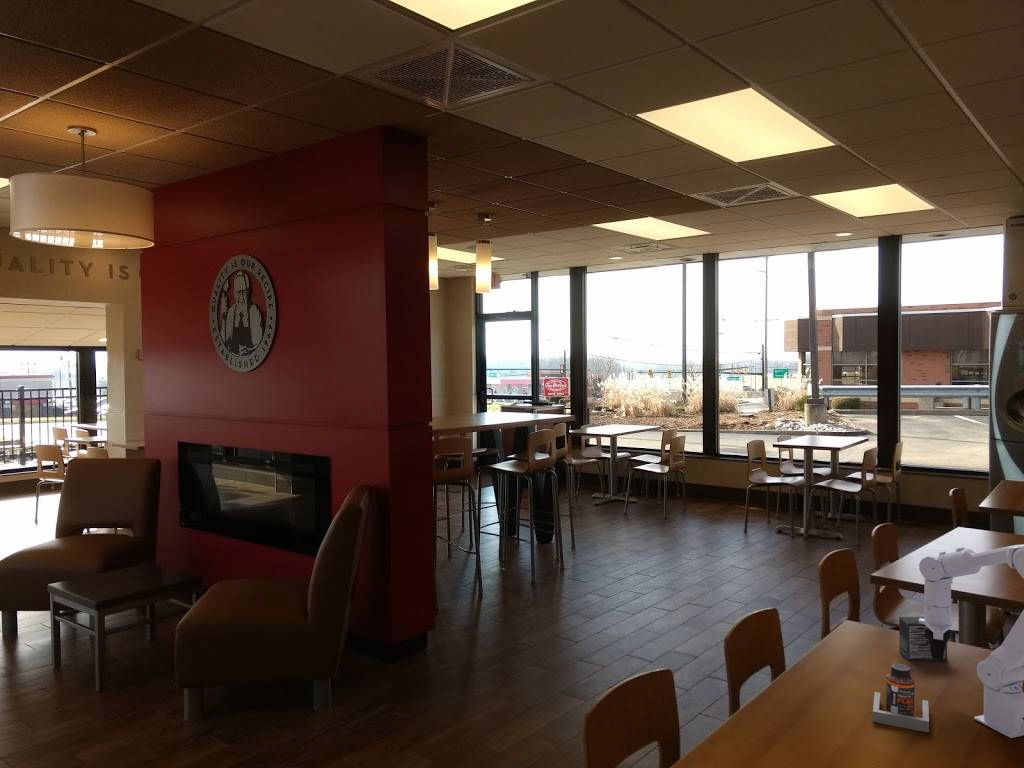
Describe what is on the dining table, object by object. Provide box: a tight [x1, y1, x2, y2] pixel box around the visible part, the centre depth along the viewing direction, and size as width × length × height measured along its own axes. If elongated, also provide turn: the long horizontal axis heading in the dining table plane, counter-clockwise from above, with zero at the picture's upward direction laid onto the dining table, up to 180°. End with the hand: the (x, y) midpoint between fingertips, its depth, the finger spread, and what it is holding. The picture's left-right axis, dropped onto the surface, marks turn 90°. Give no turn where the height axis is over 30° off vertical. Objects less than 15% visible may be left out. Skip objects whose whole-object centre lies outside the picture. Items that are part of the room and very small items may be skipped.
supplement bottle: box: [885, 663, 916, 717], centre depth 180 cm, size 6×6×11 cm
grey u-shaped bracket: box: [872, 691, 930, 733], centre depth 178 cm, size 11×11×2 cm
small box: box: [898, 616, 948, 662], centre depth 212 cm, size 11×6×10 cm, turn 84°
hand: (937, 658), depth 188 cm, fingers closed
